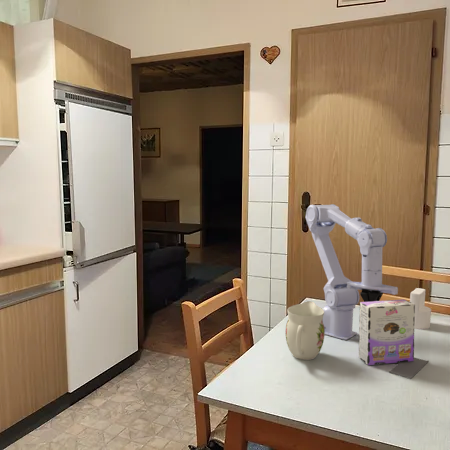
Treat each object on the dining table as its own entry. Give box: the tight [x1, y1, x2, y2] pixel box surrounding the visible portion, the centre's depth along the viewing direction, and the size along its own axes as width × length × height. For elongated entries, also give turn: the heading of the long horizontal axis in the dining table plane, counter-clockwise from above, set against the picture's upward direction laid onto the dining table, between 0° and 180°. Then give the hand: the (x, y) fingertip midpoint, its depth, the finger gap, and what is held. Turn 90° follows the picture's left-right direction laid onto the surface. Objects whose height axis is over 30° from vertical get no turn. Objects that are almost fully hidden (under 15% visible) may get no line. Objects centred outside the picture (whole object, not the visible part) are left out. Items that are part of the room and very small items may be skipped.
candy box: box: [358, 299, 415, 366], centre depth 127 cm, size 14×6×16 cm, turn 99°
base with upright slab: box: [409, 287, 432, 330], centre depth 158 cm, size 9×9×12 cm
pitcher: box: [285, 300, 325, 361], centre depth 129 cm, size 11×18×14 cm, turn 160°
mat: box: [388, 356, 429, 380], centre depth 123 cm, size 6×14×1 cm, turn 139°
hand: (371, 315), depth 134 cm, fingers closed
